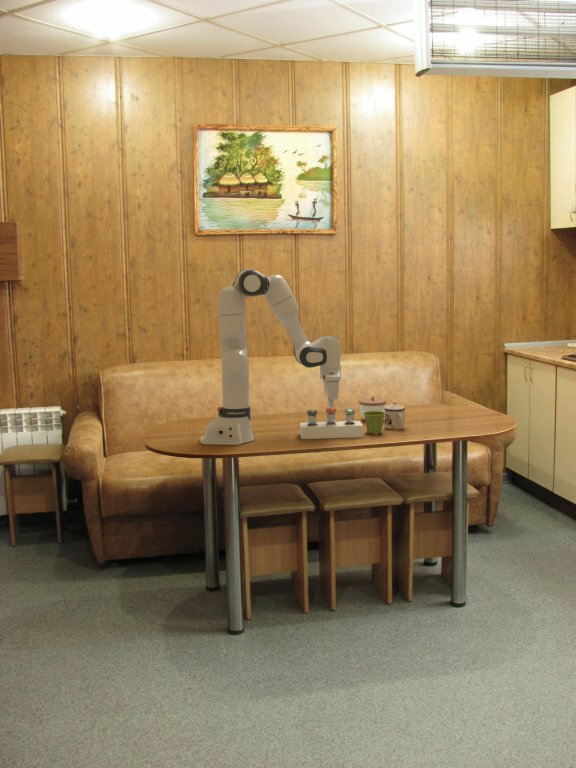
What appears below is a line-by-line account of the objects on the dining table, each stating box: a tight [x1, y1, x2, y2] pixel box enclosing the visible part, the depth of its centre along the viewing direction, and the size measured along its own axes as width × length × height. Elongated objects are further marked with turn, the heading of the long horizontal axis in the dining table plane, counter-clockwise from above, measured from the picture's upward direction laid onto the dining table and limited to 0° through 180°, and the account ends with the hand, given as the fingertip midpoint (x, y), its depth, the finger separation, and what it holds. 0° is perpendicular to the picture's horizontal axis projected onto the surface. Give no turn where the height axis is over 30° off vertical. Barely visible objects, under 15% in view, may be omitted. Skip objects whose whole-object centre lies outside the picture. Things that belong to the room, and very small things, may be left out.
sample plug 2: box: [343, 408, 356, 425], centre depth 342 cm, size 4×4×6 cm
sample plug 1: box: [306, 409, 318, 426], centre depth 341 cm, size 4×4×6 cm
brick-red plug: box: [325, 407, 337, 424], centre depth 341 cm, size 4×4×6 cm
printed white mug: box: [384, 401, 406, 430], centre depth 354 cm, size 12×9×12 cm
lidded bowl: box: [358, 395, 387, 420], centre depth 374 cm, size 13×13×11 cm
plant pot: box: [363, 411, 385, 435], centre depth 346 cm, size 9×9×9 cm
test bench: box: [299, 420, 364, 440], centre depth 342 cm, size 26×10×5 cm, turn 93°
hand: (330, 406), depth 341 cm, fingers closed
